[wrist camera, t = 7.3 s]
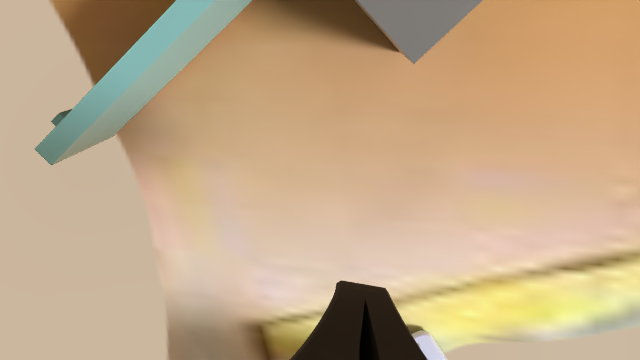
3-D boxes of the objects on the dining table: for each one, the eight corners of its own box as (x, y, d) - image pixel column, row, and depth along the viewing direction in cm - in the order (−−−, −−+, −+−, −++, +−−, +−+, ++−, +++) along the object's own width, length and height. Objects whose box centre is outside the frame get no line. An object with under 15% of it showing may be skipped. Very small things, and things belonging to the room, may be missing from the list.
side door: (277, -71, 17) (251, -100, 13) (299, -43, 17) (280, -62, 13) (93, 116, 20) (26, 140, 16) (114, 138, 20) (53, 167, 16)
